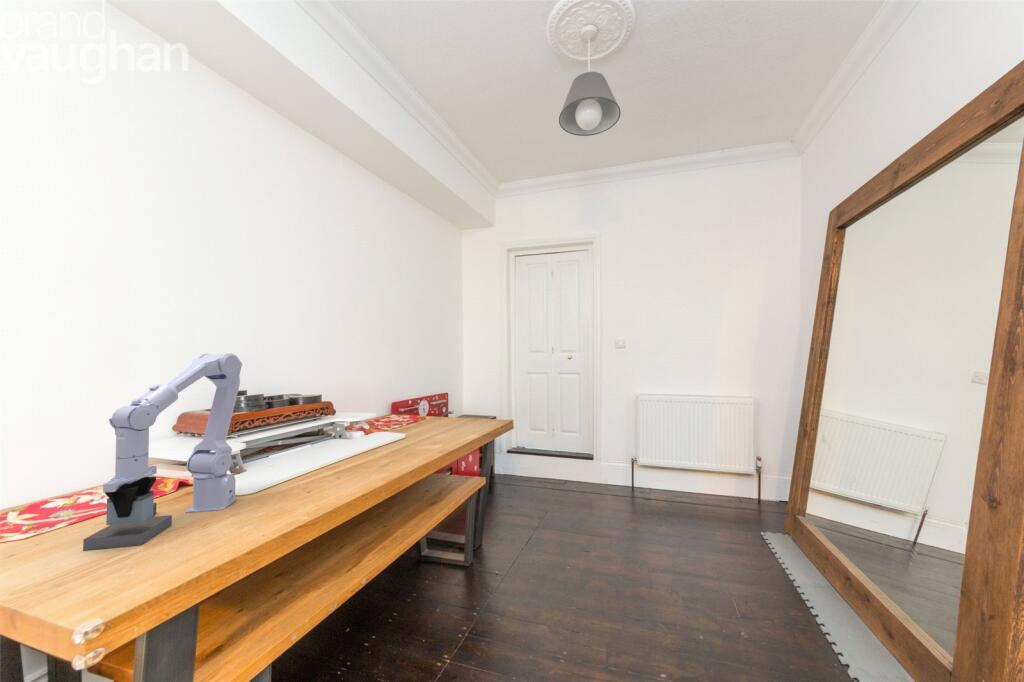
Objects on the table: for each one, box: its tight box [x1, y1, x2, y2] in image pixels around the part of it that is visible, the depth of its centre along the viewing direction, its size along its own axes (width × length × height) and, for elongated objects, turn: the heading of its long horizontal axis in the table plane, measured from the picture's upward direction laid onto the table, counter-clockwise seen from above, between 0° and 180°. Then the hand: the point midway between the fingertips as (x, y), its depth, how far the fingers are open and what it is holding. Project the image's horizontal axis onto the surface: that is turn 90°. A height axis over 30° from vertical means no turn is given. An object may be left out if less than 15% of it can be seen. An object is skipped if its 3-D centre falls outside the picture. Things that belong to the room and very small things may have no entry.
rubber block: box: [152, 502, 157, 517], centre depth 107 cm, size 4×4×3 cm
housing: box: [105, 490, 155, 526], centre depth 95 cm, size 4×7×6 cm, turn 102°
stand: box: [82, 514, 173, 552], centre depth 94 cm, size 11×11×2 cm
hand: (131, 513), depth 95 cm, fingers closed on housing, 4 cm apart
